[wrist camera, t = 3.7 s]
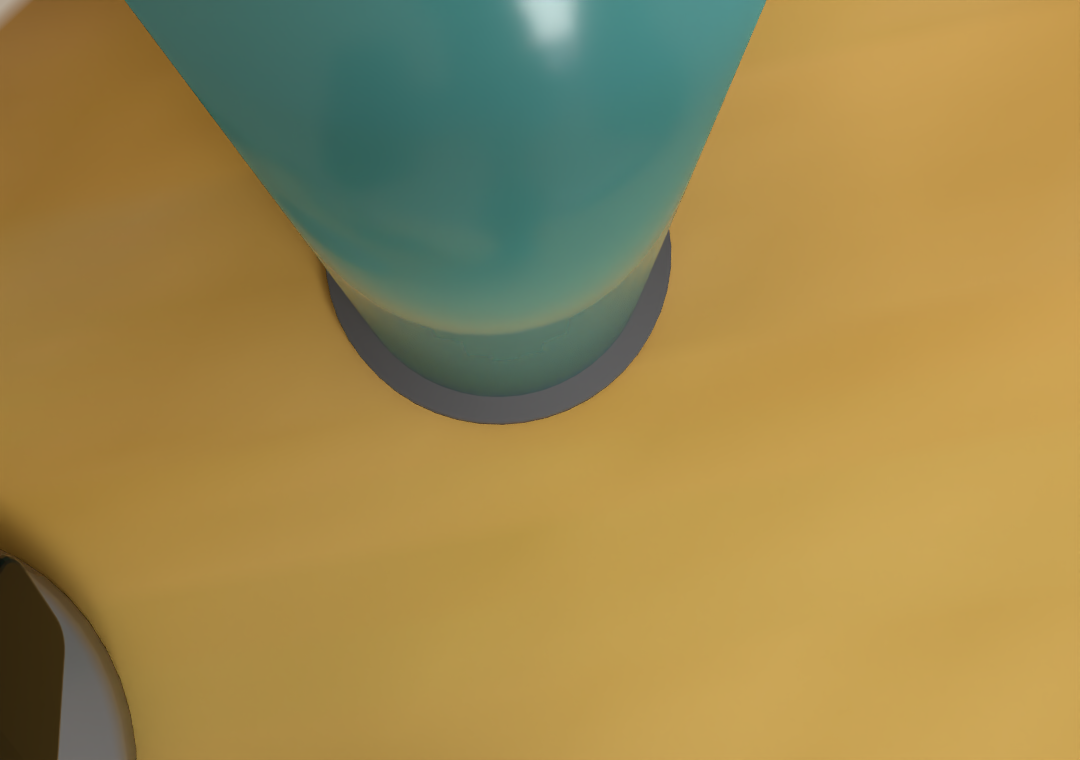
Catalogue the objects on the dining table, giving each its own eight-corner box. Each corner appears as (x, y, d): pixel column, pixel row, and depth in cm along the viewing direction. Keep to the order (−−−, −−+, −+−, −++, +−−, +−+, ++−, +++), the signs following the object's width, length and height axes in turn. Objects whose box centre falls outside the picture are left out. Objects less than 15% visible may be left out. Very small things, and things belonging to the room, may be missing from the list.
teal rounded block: (610, 428, 20) (744, 218, 7) (315, 357, 20) (-64, 31, 7) (674, 147, 21) (897, -483, 8) (393, 82, 21) (176, -632, 8)
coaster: (627, 460, 20) (628, 459, 20) (289, 379, 21) (284, 376, 20) (700, 138, 21) (703, 130, 21) (378, 64, 22) (376, 55, 21)
